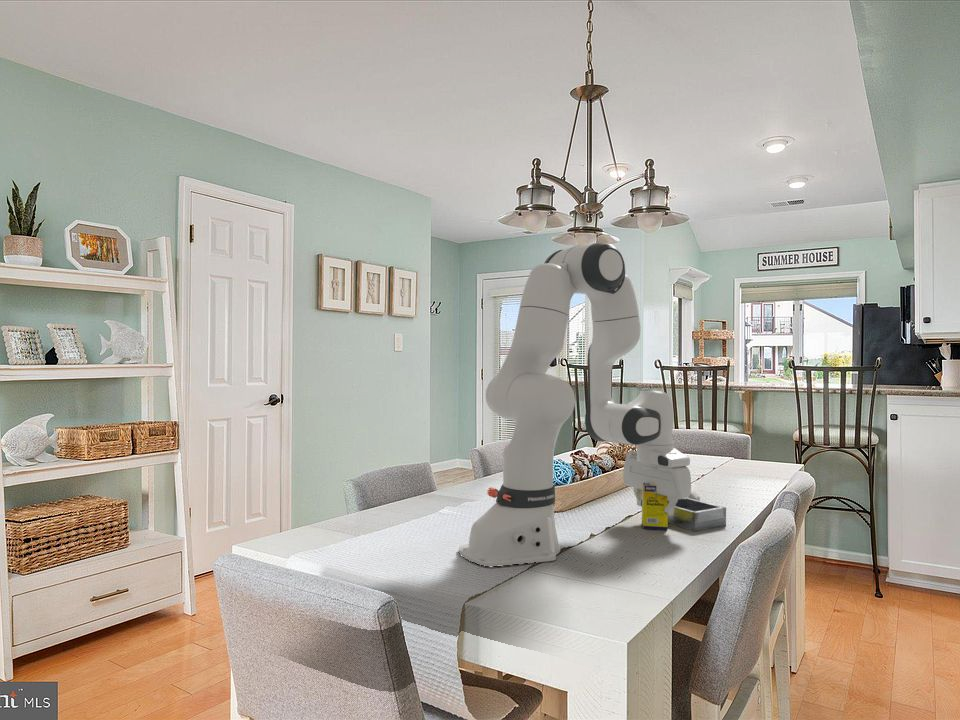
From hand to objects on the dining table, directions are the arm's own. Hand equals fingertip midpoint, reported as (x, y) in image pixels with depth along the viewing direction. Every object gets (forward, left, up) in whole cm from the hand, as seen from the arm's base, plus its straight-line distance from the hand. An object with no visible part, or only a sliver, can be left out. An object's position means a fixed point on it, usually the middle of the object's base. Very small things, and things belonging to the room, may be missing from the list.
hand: (655, 509), depth 164 cm
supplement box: (0, 0, -4) cm, 4 cm away
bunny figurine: (+24, +17, -5) cm, 30 cm away
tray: (+11, 0, -4) cm, 12 cm away
